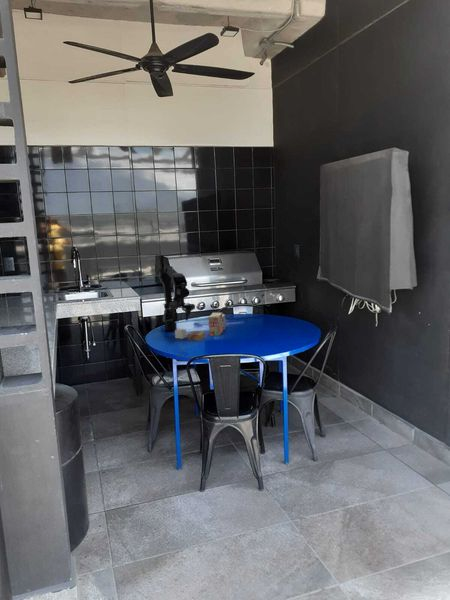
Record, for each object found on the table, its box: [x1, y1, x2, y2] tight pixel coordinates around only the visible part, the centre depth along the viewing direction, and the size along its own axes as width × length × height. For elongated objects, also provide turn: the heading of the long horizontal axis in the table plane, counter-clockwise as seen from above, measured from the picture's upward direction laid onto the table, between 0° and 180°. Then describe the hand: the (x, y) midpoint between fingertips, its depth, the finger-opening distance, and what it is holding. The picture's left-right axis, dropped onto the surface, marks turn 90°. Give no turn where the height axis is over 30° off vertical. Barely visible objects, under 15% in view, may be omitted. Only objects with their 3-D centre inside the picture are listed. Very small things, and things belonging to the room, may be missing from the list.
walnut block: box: [187, 330, 206, 342], centre depth 275 cm, size 8×8×4 cm
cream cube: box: [174, 328, 187, 340], centre depth 280 cm, size 5×5×5 cm
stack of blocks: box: [208, 312, 227, 337], centre depth 291 cm, size 21×6×12 cm, turn 168°
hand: (180, 320), depth 278 cm, fingers open, 9 cm apart
